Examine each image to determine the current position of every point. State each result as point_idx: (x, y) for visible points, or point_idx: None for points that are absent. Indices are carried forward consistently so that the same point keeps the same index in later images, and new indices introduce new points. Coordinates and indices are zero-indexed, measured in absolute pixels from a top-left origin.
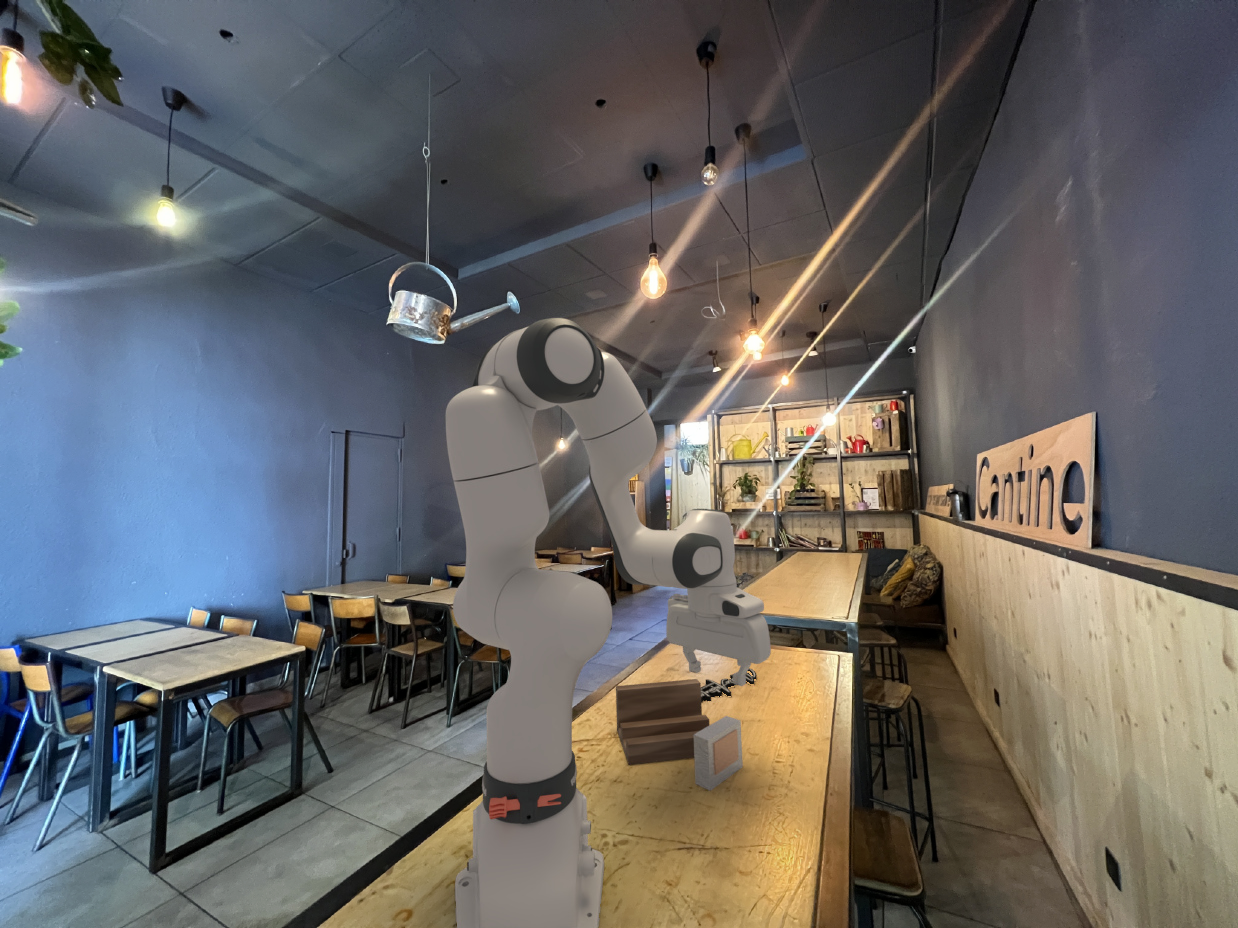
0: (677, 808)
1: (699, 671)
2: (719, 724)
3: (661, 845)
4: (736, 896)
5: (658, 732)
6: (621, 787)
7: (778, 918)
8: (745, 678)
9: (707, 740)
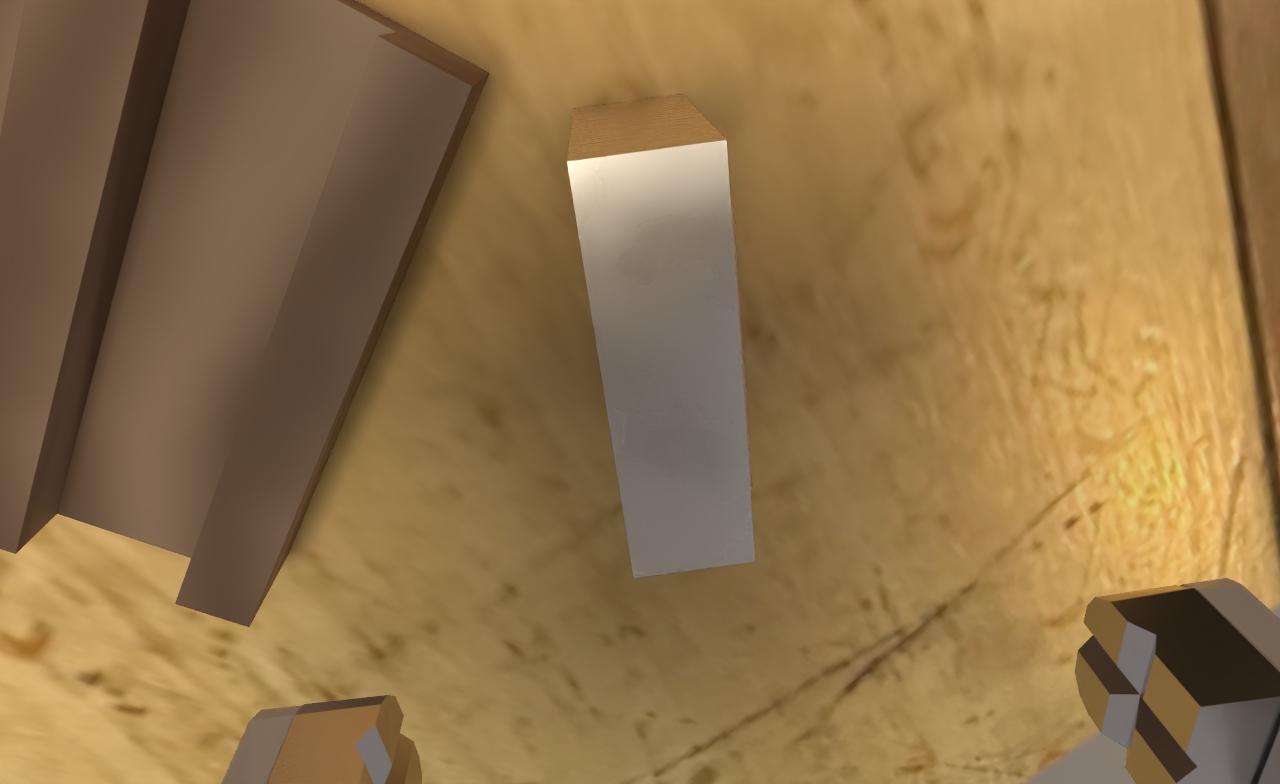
0: (699, 582)
1: (398, 712)
2: (649, 342)
3: (799, 715)
4: None
5: (98, 325)
6: (439, 659)
7: None
8: (1276, 626)
9: (749, 558)
